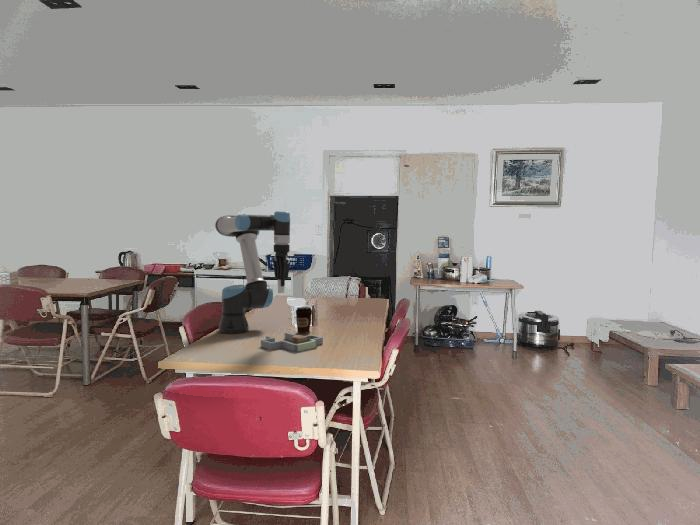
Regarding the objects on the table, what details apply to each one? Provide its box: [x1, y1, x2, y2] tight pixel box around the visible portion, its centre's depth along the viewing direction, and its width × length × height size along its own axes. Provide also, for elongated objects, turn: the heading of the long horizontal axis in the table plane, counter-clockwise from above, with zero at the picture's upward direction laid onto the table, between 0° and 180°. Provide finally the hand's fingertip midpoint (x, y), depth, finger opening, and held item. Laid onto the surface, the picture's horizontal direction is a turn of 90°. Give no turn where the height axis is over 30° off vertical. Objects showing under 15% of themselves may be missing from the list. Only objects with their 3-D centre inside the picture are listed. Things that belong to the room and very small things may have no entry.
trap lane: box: [260, 331, 324, 353], centre depth 220 cm, size 23×24×3 cm
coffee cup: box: [295, 306, 313, 335], centre depth 244 cm, size 9×8×13 cm
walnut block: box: [290, 334, 307, 344], centre depth 215 cm, size 5×5×5 cm
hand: (281, 292), depth 230 cm, fingers closed
